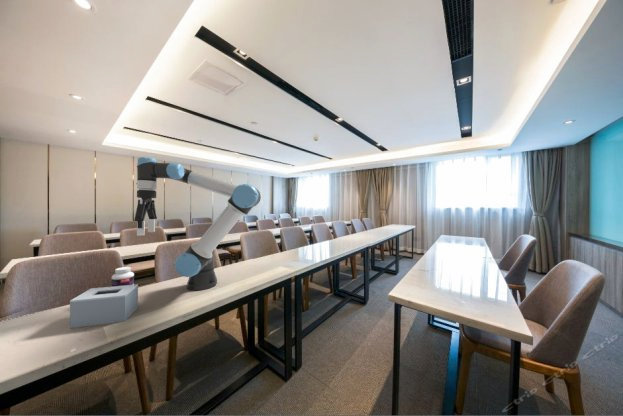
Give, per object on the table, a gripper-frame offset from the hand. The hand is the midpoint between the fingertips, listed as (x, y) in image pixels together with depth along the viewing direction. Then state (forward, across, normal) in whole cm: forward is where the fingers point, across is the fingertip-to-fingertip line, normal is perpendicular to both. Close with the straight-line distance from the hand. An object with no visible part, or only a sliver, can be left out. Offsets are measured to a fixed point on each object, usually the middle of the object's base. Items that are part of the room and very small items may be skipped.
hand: (146, 233), depth 105 cm
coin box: (+31, +18, -7) cm, 36 cm away
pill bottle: (+31, 0, -9) cm, 32 cm away
